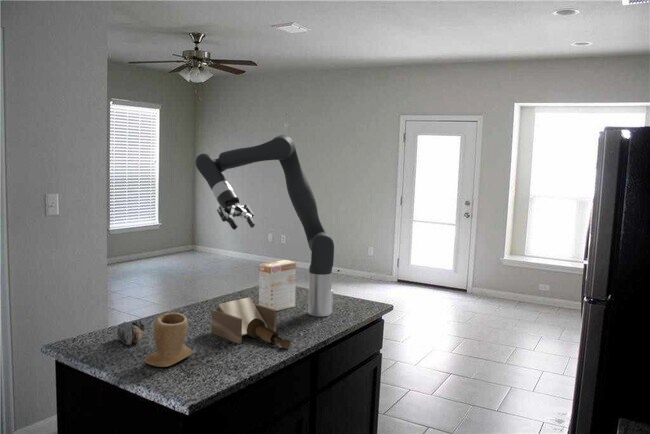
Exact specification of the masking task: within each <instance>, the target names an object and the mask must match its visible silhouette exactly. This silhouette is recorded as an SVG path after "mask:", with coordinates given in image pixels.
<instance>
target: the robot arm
mask: <svg viewBox="0 0 650 434" xmlns="http://www.w3.org/2000/svg"><path fill="white" fill-rule="evenodd" d="M267 161H279V163H280V165H281V168H282V171H283V173H284V174H283V175H284V179H285V185H286V190H287V193H288V196H289V197H288V198H289V199H290V202H291V204H292V207H293V209H294V210H295V213H296V215H297V217H298V219H299V221H300V223H301V225H302V227H303V230H304V233H305V236H306V240H307V244H308V248H309V250H310V252H311V257H310V264H309V267H308V268H309V269H308V278H309V279H308V304H307V305H308V311H307V314H308V315H310V316H313V317H327V316H330V315H331V314H332V313H333V299H334V295H333V294H334V291H333V289H332V284H333V283H332V281H333V280H332V277H333V275H332V273H333V267H334V262H335V261H334V260H335V259H334V258H335V244H334V242H335V241H334V240H333V239H332V237H331V236H329V235H328V234H327V233H326V230H325V229H324V227H323V224H322V222H321V220H320V217H319V213H318V207H317V206H318V205H317V201H316V198H315V196H314V195H315V194H314V192H313V190H312V188H311V186H310V183H309V181H308V179H307V177H306V173H305V172H304V170H303V168H302V166H301V163H300V162H301V161H300V159H299V156H298V153H297V148H296V145H295V142H294V140H293V139H292V138H291V137H290V136H289V135H286V134H280V135H278V136H275V137H274V138H272V139H271V140H269V141H267V142H264V143H261V144H258V145H255V146H248V147H242V148H241V147H239V148H234V149H230V150H226V151H223V152H220V154H219V155H218V158H213V157H212V156H211V155H210V154H208V153H200V154H199V155H197V156H196V158H195V162H194V163H195V167H196V169H197V170H198V172H199V173H200V174H201V175H202V177H203V178H204V180H205V181H206V183H207V184H208V186H209V188H210V189H211V191H212V193H213V196H214V197H215V199H216V202H217V203H218V204H219V206H218V208H217V209H216V212H217V213H218V215H219V217H220V219H221V221H222V222H226V223H228V224H229V226H230V227H231V228H232V230H234V231H235V230H237V229H238V224H237V222H236V220H235V219H234V218H235V217H239V218H241V219H244V220H246V222H247V224H248V225H249V228H250V229H253V228H255V226H256V222H255V220H254V219H253V217H254V216H255V213H254V210H252V208H251V207H250V205H249V204H248V203H245V204H244V205H242V204H241V203H240V198H239V196H238V195H237V193H236V192H235V190H234V189H233V186H231V184H230V183H229V181H228V180H227V178H226V177H225V175H224V174H223V172H225V171H226V170H230V169H235V168H238V167H239V168H240V167H244V166H246V165H247V166H248V165H252V164H255V163H258V162H267Z"/></svg>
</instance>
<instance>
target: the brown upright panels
mask: <svg viewBox="0 0 650 434" xmlns="http://www.w3.org/2000/svg"><path fill="white" fill-rule="evenodd" d="M253 303H254V302H253ZM254 305H255V307H256V308H257V310H258V311H259V313H260V315H261V316H262V318H263V320H264V321H265V323H266V324H267V326H268V328H269V329H270V330H272V331H274V332H276V333H277V318H278V317H277V316H278V315H277V313H278V312H277V310H275V309H271V308H268V307H265V306H261V305H259V303H254ZM211 334H212V335H215V336H217V337H220V338H222V339H226V340H228V341H231V342H233V343H235V344H238V345H240V344H242V343H243V340H242V337H243V336H242V319H241V318H238V317H235V316H232V315H229V314H226V313H223V312H220V311H217V309H211Z"/></svg>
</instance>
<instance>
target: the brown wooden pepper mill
mask: <svg viewBox="0 0 650 434" xmlns="http://www.w3.org/2000/svg"><path fill="white" fill-rule="evenodd" d="M247 335H248V336H250V337H252V338H253V339H257V338H262V339H263V340H265V342H268V343H270V344H271V345H274V344H277V345H281V348H283V349H289V348H290V346H291V342H290V340H289V339H283V338H282V337H280V335H279V333H278V332H277V331H276V332H274V331H272V330H270V329H269V328H267V327H265V323H264V322H263V321H262V320H260V319H257V318H256V319H253V320H252V321H250V323H249V324H248V326H247Z"/></svg>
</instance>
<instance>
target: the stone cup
mask: <svg viewBox="0 0 650 434" xmlns="http://www.w3.org/2000/svg"><path fill="white" fill-rule="evenodd" d="M188 329H189V320H188V318H187V316H186V315H185V314H183V313H180V312H167V313H163V314H161V315H160V316H159V317H157V318H156V320H155V322H154V326H153V338H154V339H153V340H154V341H155V346H156V351H155V352H152V353H151V354H149V355H148V356H146V357H145V359H144V362H145V363H146V364H147V365H151V366H154V367H160V368H165V367H166V368H167V367H170V366H173V365H175V364H177V363H180V361H182V360H184V359H186V358H187V357H189V356H191V355H193V351H192V349H191V348H190V346H189V347H188V346H187V345H186V344H185V343H184V342H185V340H186V337H187V334H188Z"/></svg>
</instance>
